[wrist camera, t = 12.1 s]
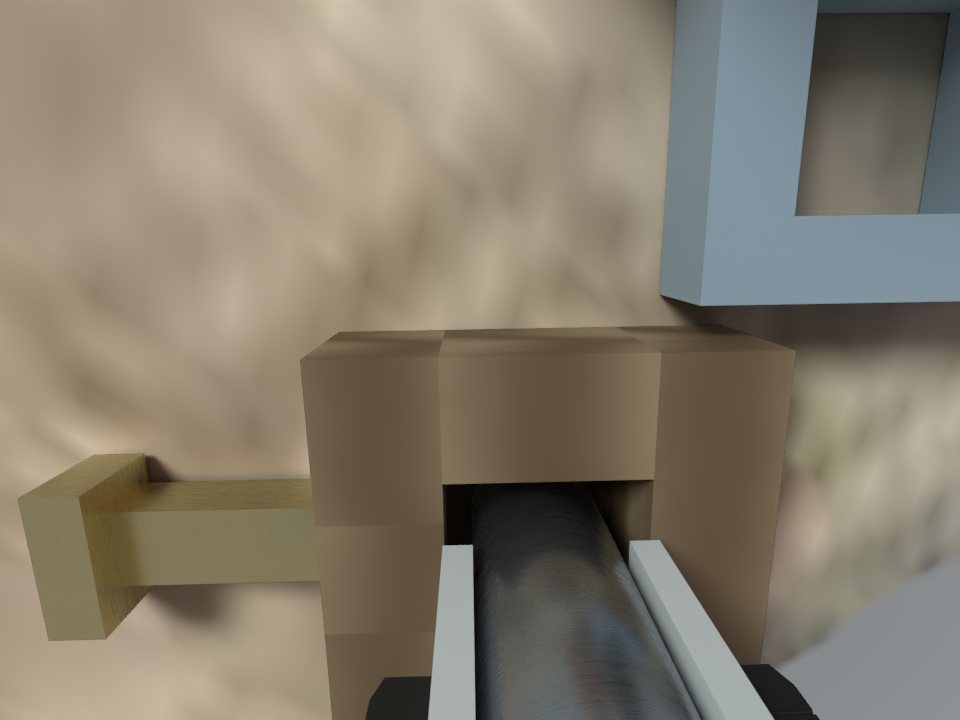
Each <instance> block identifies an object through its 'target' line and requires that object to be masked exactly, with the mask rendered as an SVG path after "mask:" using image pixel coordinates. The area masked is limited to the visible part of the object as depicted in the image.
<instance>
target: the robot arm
mask: <svg viewBox="0 0 960 720" xmlns="http://www.w3.org/2000/svg"><path fill="white" fill-rule="evenodd" d="M628 570H629V572H630V575H631V577H632V579H633V581H634V583H635V585H636V587H637V589H638V591H639V593H640V595H641V597H642V599H643V601H644V603H645V605H646V607H647V609H648V611H649V614H650V616H651V618H652V620H653V622H654V624H655V626H656V628H657V630H658V632H659V634H660V636H661V638H662V640H663V642H664V644H665V646H666V648H667V651H668V653H669V655H670V657H671V659H672V661H673V663H674V665H675V667H676V669H677V671H678V673H679V675H680V677H681V679H682V681H683V683H684V685H685V688H686V690H687V692H688V694H689V696H690V698H691V700H692V702H693V704H694V706H695V708H696V710H697V712H698V714H699V716H700V718H701V720H820V719H819V718H818V717H817V715H814V714H813V712H812V709H811V708H810V706H809V705H808V703H807V702H806V700H805V699H804V698H803V696H802V695H801V694H800V692H799V691H798V690H797V688H796V687H795V685H794V684H792V683H791V682H790V681H788V680H787V679H786V678H785V677H784V676H783V675H781V674H780V673H779V672H778V671H776V670H775V669H774V668H773V667H771V666H770V665H769V664H756V665H739V664H738V662H737V660H736V659H735V657H734V656H733V654H732V653H731V651H730V649H729V648H728V646H727V645H726V643H725V642H724V640H723V639H722V637H721V635H720V634H719V632H718V631H717V629H716V628H715V626H714V624H713V623H712V621H711V620H710V618H709V617H708V615H707V613H706V612H705V610H704V609H703V607H702V606H701V604H700V602H699V601H698V599H697V598H696V596H695V595H694V593H693V592H692V590H691V588H690V587H689V585H688V584H687V582H686V581H685V579H684V577H683V576H682V574H681V573H680V571H679V570H678V568H677V566H676V565H675V563H674V562H673V560H672V559H671V557H670V555H669V554H668V552H667V551H666V549H665V548H664V546H663V545H662V543H661V541H660V540H642V541H630V547H629V567H628ZM365 720H476V706H475V644H474V582H473V545H446V546H443V547H442V559H441V571H440V583H439V595H438V607H437V619H436V631H435V643H434V655H433V667H432V676H413V677H385V678H384V679H383V681H382V682H381V684H380V685H379V687H378V688H377V690H376V691H375V692H374V694H373V695H372V697H371V698H370V700H369V705H368V709H367V714H366V719H365Z"/></svg>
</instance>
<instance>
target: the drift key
mask: <svg viewBox="0 0 960 720" xmlns="http://www.w3.org/2000/svg"><path fill="white" fill-rule="evenodd" d="M18 503H19V507H20V512H21V516H22V521H23V525H24V530H25V535H26V539H27V544H28V548H29V553H30V557H31V562H32V566H33V571H34V576H35V580H36V585H37V589H38V594H39V598H40V603H41V607H42V612H43V616H44V621H45V626H46V630H47V635H48V639H49V641H64V640H99V639H107V637H108V636H109V635H110V634H111V633H112V632H113V631H114V630H115V629H116V628H117V626H118V625H119V624H120V623H121V622H122V621H123V620H124V619H125V618H126V617H127V615H128V614H129V613H130V612H131V611H132V610H133V609H134V608H135V607H136V606H137V604H138V603H139V602H140V601H141V600H142V599H143V598H144V597H145V596H146V595H147V593H148V592H149V591H150V590H151V589H152V588H153V587H154V586H155V585H186V584H224V583H262V582H299V581H320V576H319V564H318V553H317V542H316V531H315V520H314V509H313V498H312V487H311V479H274V480H231V481H188V482H149V479H148V473H147V467H146V460H145V454H103V455H93V456H91V457H89V458H87V459H86V460H84V461H82V462H80V463H79V464H77V465H75V466H73V467H72V468H70V469H68V470H66V471H65V472H63V473H61V474H59V475H58V476H56V477H54V478H52V479H51V480H49V481H47V482H46V483H44V484H42V485H40V486H39V487H37V488H35V489H33V490H32V491H30V492H28V493H26V494H25V495H23V496H21V497H19V498H18Z"/></svg>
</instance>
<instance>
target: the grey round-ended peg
mask: <svg viewBox="0 0 960 720" xmlns="http://www.w3.org/2000/svg"><path fill="white" fill-rule="evenodd" d="M471 529H472V545H473V582H474V644H475V706H476V720H701V718H700V716H699V714H698V712H697V710H696V708H695V706H694V704H693V702H692V700H691V698H690V696H689V694H688V692H687V690H686V688H685V685H684V683H683V681H682V679H681V677H680V675H679V673H678V671H677V669H676V667H675V665H674V663H673V661H672V659H671V657H670V655H669V653H668V651H667V648H666V646H665V644H664V642H663V640H662V638H661V636H660V634H659V632H658V630H657V628H656V626H655V624H654V622H653V620H652V618H651V616H650V614H649V611H648V609H647V607H646V605H645V603H644V601H643V599H642V597H641V595H640V593H639V591H638V589H637V587H636V585H635V583H634V581H633V579H632V577H631V575H630V572H629V570H628V568H627V566H626V564H625V562H624V560H623V558H622V556H621V554H620V552H619V550H618V548H617V546H616V544H615V542H614V540H613V538H612V535H611V533H610V531H609V529H608V527H607V525H606V523H605V521H604V519H603V517H602V515H601V513H600V511H599V509H598V507H597V505H596V503H595V501H594V498H593V496H592V494H591V492H590V490H589V488H588V486H587V484H586V482H585V481H567V482H524V483H482V484H475V487H474V490H473V494H472V500H471Z"/></svg>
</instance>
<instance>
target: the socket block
mask: <svg viewBox="0 0 960 720" xmlns="http://www.w3.org/2000/svg"><path fill="white" fill-rule="evenodd" d="M795 357H796V350H794V349H791V348H788V347H785V346H782V345H779V344H776V343H773V342H770V341H767V340H764V339H761V338H758V337H755V336H752V335H749V334H746V333H743V332H740V331H737V330H734V329H731V328H728V327H725V326H722V325H699V326H644V327H590V328H536V329H481V330H427V331H372V332H339V333H337V334H336V335H334V336H333V337H332V338H330V339H329V340H327V341H326V342H325V343H323V344H322V345H320V346H319V347H318V348H316V349H315V350H313V351H312V352H311V353H309V354H308V355H306V356H305V357H304V358H302V359H301V360H300V364H301V376H302V387H303V398H304V409H305V420H306V431H307V442H308V453H309V464H310V476H311V487H312V498H313V509H314V520H315V531H316V542H317V553H318V564H319V576H320V587H321V598H322V609H323V620H324V631H325V642H326V653H327V664H328V676H329V687H330V698H331V709H332V720H365V719H366V714H367V709H368V705H369V700H370V698H371V697H372V695H373V694H374V692H375V691H376V690H377V688H378V687H379V685H380V684H381V682H382V681H383V679H384V678H385V677H413V676H432V667H433V655H434V643H435V631H436V619H437V607H438V595H439V583H440V571H441V559H442V547H443V546H446V545H447V520H446V491H447V484H482V483H524V482H567V481H609V480H611V483H610V507H609V531H610V533H611V535H612V538H613V540H614V542H615V544H616V546H617V548H618V550H619V552H620V554H621V556H622V558H623V560H624V562H625V564H626V566H627V568H628V567H629V547H630V541H642V540H660V541H661V543H662V545H663V546H664V548H665V549H666V551H667V552H668V554H669V555H670V557H671V559H672V560H673V562H674V563H675V565H676V566H677V568H678V570H679V571H680V573H681V574H682V576H683V577H684V579H685V581H686V582H687V584H688V585H689V587H690V588H691V590H692V592H693V593H694V595H695V596H696V598H697V599H698V601H699V602H700V604H701V606H702V607H703V609H704V610H705V612H706V613H707V615H708V617H709V618H710V620H711V621H712V623H713V624H714V626H715V628H716V629H717V631H718V632H719V634H720V635H721V637H722V639H723V640H724V642H725V643H726V645H727V646H728V648H729V649H730V651H731V653H732V654H733V656H734V657H735V659H736V660H737V662H738V664H739V665H756V664H760V661H761V652H762V643H763V635H764V626H765V617H766V609H767V600H768V591H769V583H770V574H771V565H772V557H773V548H774V539H775V531H776V522H777V513H778V505H779V496H780V487H781V479H782V470H783V461H784V453H785V444H786V435H787V427H788V418H789V409H790V401H791V392H792V383H793V375H794V366H795Z"/></svg>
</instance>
